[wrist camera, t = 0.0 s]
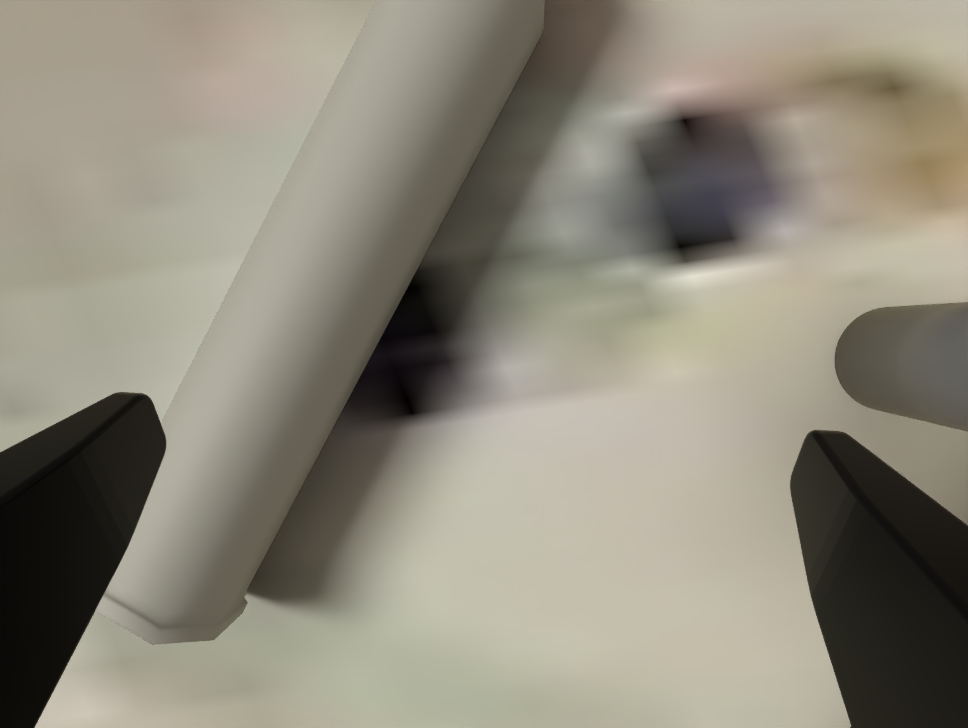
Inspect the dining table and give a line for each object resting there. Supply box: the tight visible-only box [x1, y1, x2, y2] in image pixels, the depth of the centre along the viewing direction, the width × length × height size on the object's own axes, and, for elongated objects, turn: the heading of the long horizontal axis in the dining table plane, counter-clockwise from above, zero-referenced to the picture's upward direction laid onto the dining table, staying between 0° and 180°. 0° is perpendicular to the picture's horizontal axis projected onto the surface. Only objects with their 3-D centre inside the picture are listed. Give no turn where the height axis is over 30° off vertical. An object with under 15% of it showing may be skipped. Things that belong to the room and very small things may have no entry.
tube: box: [95, 0, 545, 645], centre depth 22 cm, size 5×5×25 cm
